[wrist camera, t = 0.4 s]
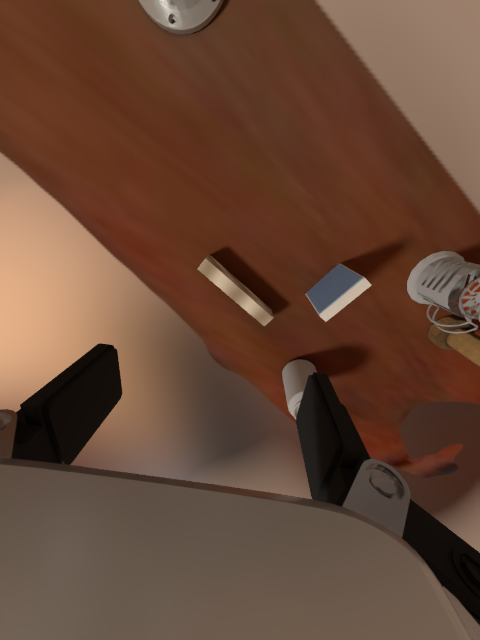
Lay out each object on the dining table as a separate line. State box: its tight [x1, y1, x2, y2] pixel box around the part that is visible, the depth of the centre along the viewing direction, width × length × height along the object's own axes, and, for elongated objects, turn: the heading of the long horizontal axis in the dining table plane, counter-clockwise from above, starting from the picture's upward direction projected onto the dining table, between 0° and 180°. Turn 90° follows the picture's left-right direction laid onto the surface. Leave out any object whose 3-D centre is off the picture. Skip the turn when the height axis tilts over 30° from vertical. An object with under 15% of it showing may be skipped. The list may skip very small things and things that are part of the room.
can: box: [282, 359, 317, 419], centre depth 45 cm, size 8×8×12 cm
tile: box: [306, 264, 371, 322], centre depth 37 cm, size 2×8×10 cm, turn 138°
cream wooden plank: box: [198, 255, 273, 326], centre depth 42 cm, size 16×2×4 cm, turn 48°
